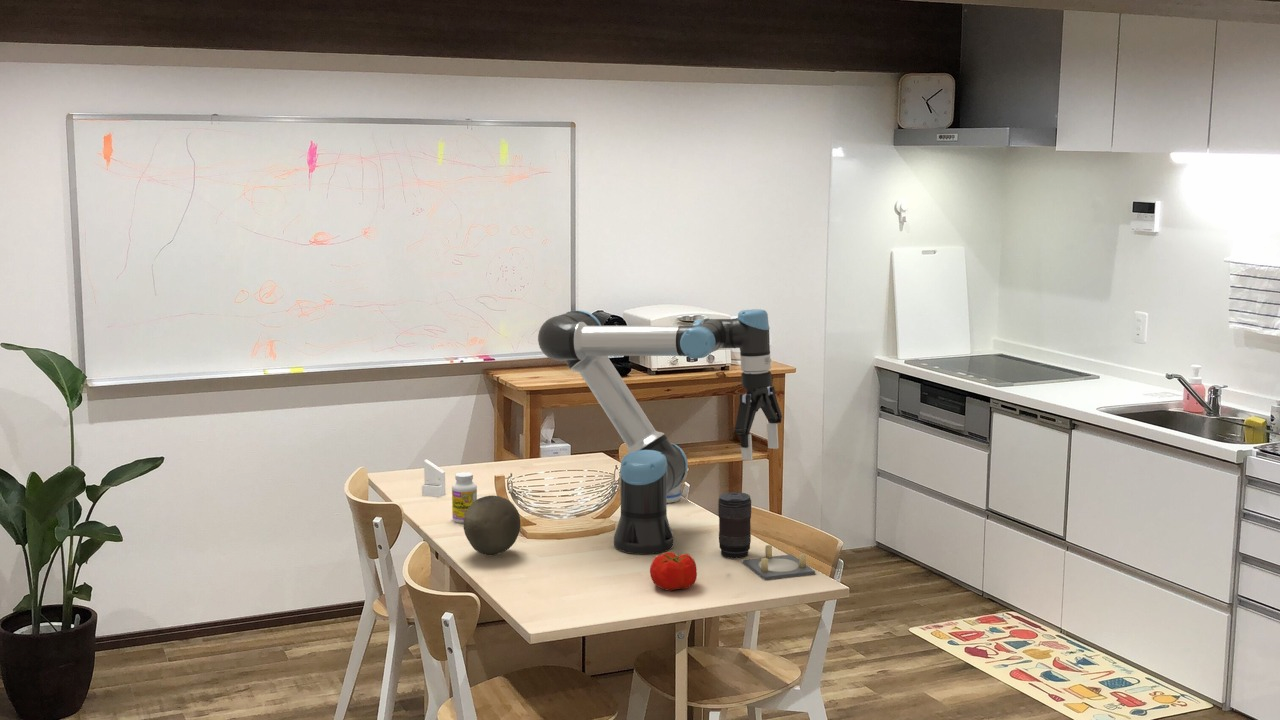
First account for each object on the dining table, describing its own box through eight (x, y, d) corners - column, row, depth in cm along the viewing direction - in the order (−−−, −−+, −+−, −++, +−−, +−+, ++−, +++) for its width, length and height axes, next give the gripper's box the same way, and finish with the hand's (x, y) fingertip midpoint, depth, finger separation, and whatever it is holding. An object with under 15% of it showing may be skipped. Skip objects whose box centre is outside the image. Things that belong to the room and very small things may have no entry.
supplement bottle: (448, 522, 331) (447, 476, 329) (458, 515, 338) (456, 470, 336) (472, 524, 330) (471, 478, 328) (481, 517, 336) (480, 471, 334)
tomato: (641, 588, 281) (641, 557, 280) (669, 575, 290) (669, 545, 289) (678, 598, 275) (679, 566, 274) (706, 585, 283) (707, 554, 282)
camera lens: (715, 549, 309) (716, 491, 306) (747, 549, 309) (748, 491, 307) (720, 560, 301) (720, 500, 298) (753, 559, 301) (753, 500, 299)
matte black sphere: (458, 550, 308) (456, 492, 306) (513, 544, 313) (512, 487, 311) (470, 567, 295) (469, 507, 293) (527, 561, 300) (527, 501, 298)
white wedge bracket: (414, 483, 362) (426, 459, 360) (441, 501, 360) (454, 478, 358) (408, 486, 359) (421, 462, 356) (435, 505, 357) (448, 481, 355)
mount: (764, 580, 287) (764, 564, 286) (742, 562, 299) (742, 547, 298) (815, 574, 291) (815, 558, 290) (791, 557, 303) (791, 542, 302)
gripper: (744, 380, 297) (749, 466, 300) (792, 363, 317) (796, 444, 320) (717, 378, 301) (722, 463, 304) (766, 363, 321) (771, 442, 324)
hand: (760, 454), depth 312 cm, fingers open, 13 cm apart
